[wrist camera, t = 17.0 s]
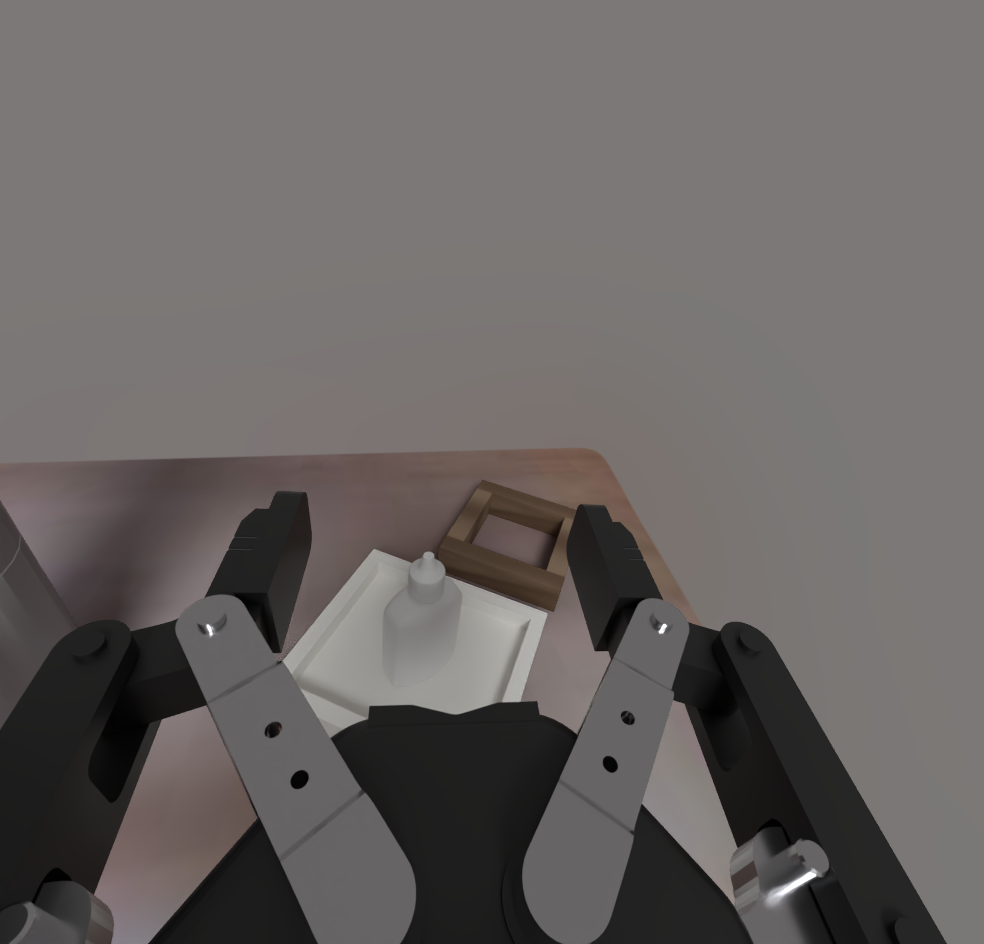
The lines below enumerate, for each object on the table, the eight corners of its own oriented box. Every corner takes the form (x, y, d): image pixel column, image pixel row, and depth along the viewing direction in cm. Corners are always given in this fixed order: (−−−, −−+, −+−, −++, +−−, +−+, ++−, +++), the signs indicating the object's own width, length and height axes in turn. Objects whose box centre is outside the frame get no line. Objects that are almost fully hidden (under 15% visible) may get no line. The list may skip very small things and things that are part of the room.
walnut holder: (553, 611, 44) (560, 590, 43) (436, 568, 47) (438, 547, 45) (577, 532, 54) (584, 512, 52) (479, 499, 56) (482, 479, 54)
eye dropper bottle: (383, 638, 39) (384, 532, 32) (452, 635, 40) (468, 531, 33) (381, 690, 35) (382, 583, 28) (457, 685, 36) (475, 580, 29)
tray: (485, 812, 31) (490, 796, 29) (264, 708, 34) (258, 690, 33) (542, 630, 42) (547, 613, 41) (374, 567, 46) (373, 548, 44)
